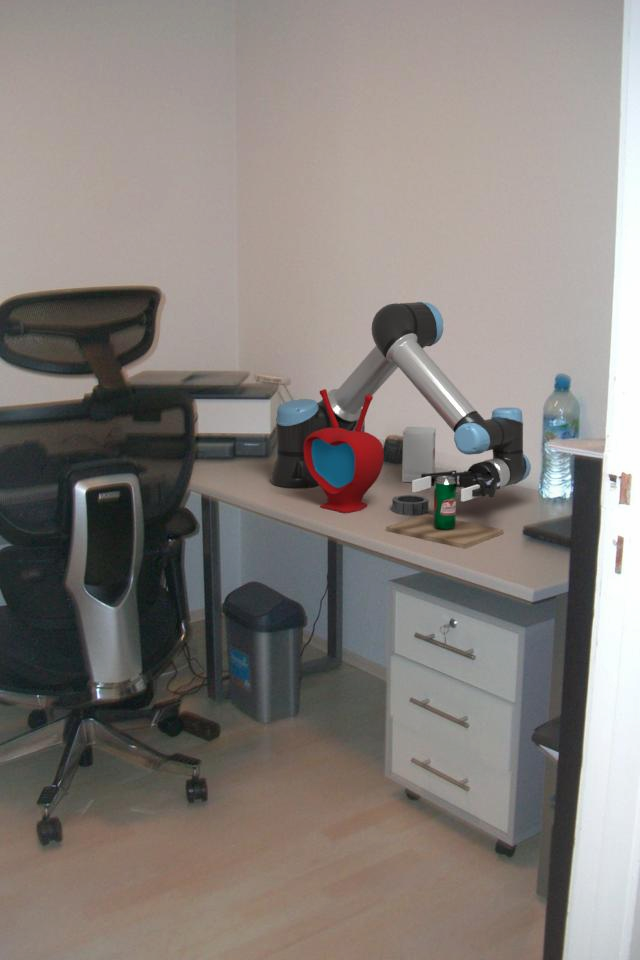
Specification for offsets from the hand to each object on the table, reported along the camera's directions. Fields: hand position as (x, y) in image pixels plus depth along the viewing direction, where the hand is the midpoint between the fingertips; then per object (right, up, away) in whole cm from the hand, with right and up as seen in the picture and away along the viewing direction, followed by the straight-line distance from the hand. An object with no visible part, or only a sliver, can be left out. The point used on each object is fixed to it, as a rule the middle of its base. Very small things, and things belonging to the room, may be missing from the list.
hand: (437, 490), depth 218 cm
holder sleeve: (-4, -5, +24) cm, 25 cm away
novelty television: (-20, -5, +28) cm, 35 cm away
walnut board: (+2, -10, +5) cm, 11 cm away
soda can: (+2, -9, +4) cm, 10 cm away
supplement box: (+2, +2, +60) cm, 60 cm away
